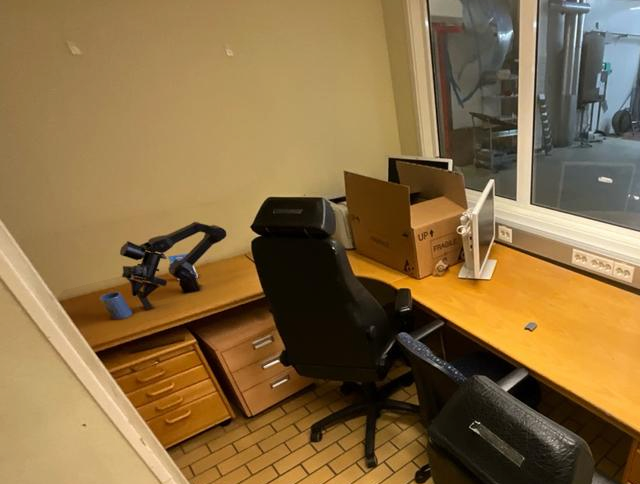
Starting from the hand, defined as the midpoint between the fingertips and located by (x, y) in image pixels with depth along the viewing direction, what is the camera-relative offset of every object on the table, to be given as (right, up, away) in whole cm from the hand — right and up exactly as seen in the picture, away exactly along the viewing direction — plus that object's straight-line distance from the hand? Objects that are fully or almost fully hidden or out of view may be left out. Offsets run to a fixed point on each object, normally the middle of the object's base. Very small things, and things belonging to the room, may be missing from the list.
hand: (138, 296), depth 176 cm
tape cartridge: (-2, +13, +30) cm, 33 cm away
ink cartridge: (0, -5, +5) cm, 7 cm away
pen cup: (-6, -9, -1) cm, 11 cm away
